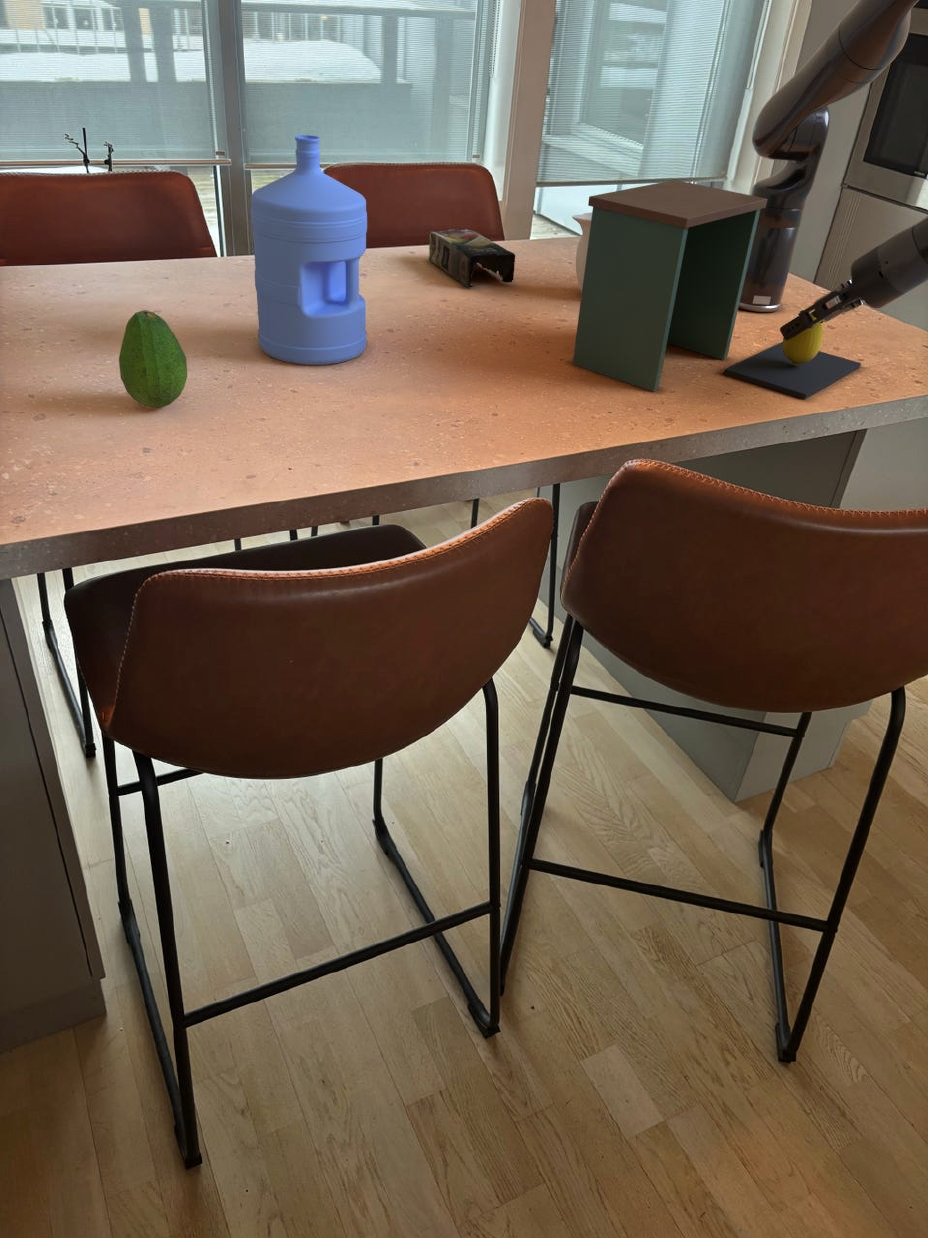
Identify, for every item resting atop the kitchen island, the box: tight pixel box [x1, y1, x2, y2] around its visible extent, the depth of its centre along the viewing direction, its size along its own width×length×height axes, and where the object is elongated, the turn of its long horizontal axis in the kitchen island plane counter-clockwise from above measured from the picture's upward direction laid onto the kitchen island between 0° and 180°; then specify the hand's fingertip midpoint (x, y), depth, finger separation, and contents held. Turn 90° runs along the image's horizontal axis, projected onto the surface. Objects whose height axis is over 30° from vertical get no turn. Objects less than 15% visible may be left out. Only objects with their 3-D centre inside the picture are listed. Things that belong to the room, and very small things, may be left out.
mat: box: [723, 341, 862, 400], centre depth 144 cm, size 20×13×1 cm, turn 139°
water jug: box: [250, 134, 368, 366], centre depth 132 cm, size 16×16×28 cm
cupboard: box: [572, 179, 767, 393], centre depth 138 cm, size 22×15×23 cm
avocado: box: [118, 309, 188, 409], centre depth 116 cm, size 8×8×12 cm
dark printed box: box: [428, 228, 516, 288], centre depth 177 cm, size 20×10×6 cm, turn 24°
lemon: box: [782, 312, 824, 366], centre depth 142 cm, size 6×6×8 cm
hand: (796, 328), depth 142 cm, fingers open, 8 cm apart
